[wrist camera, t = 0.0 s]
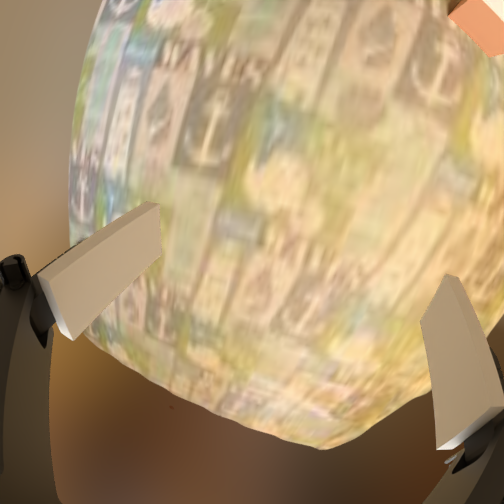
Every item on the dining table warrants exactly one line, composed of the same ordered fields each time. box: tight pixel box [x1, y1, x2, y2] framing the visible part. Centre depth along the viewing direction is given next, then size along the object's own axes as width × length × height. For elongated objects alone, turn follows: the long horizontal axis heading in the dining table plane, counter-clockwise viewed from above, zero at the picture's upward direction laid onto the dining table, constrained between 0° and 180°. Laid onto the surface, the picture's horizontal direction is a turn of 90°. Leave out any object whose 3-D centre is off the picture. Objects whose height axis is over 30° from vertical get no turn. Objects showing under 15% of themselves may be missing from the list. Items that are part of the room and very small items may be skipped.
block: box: [448, 0, 504, 57], centre depth 13 cm, size 4×8×11 cm, turn 57°
